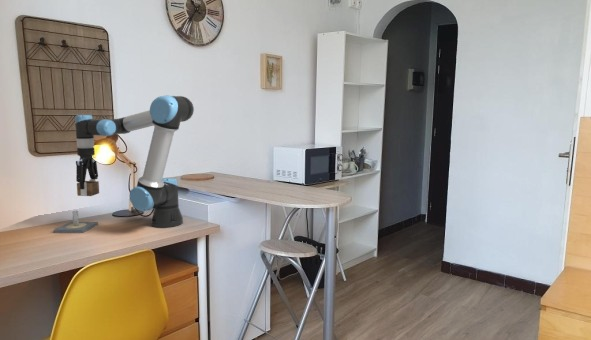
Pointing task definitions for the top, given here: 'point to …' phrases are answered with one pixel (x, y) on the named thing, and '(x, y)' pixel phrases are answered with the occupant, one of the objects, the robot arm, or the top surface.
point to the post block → (75, 225)
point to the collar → (89, 188)
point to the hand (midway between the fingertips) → (88, 193)
